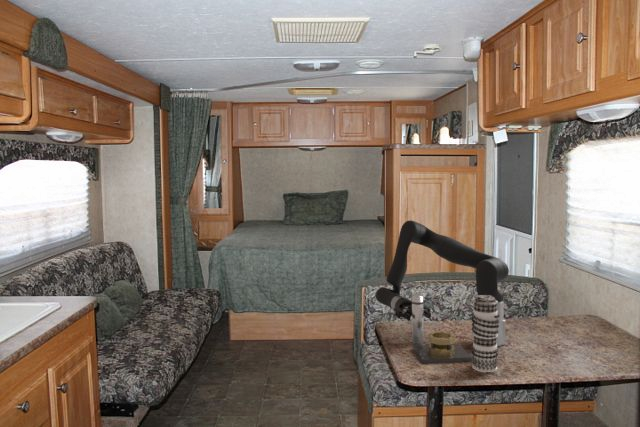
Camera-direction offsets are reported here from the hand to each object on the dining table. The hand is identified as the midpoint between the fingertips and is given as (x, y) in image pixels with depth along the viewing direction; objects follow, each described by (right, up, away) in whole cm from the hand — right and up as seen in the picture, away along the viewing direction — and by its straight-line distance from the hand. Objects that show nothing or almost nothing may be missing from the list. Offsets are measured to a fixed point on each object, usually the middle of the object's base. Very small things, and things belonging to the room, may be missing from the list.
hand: (419, 317), depth 197 cm
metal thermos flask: (0, -11, +3) cm, 11 cm away
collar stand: (+6, -12, -11) cm, 17 cm away
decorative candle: (+18, -13, -23) cm, 32 cm away
